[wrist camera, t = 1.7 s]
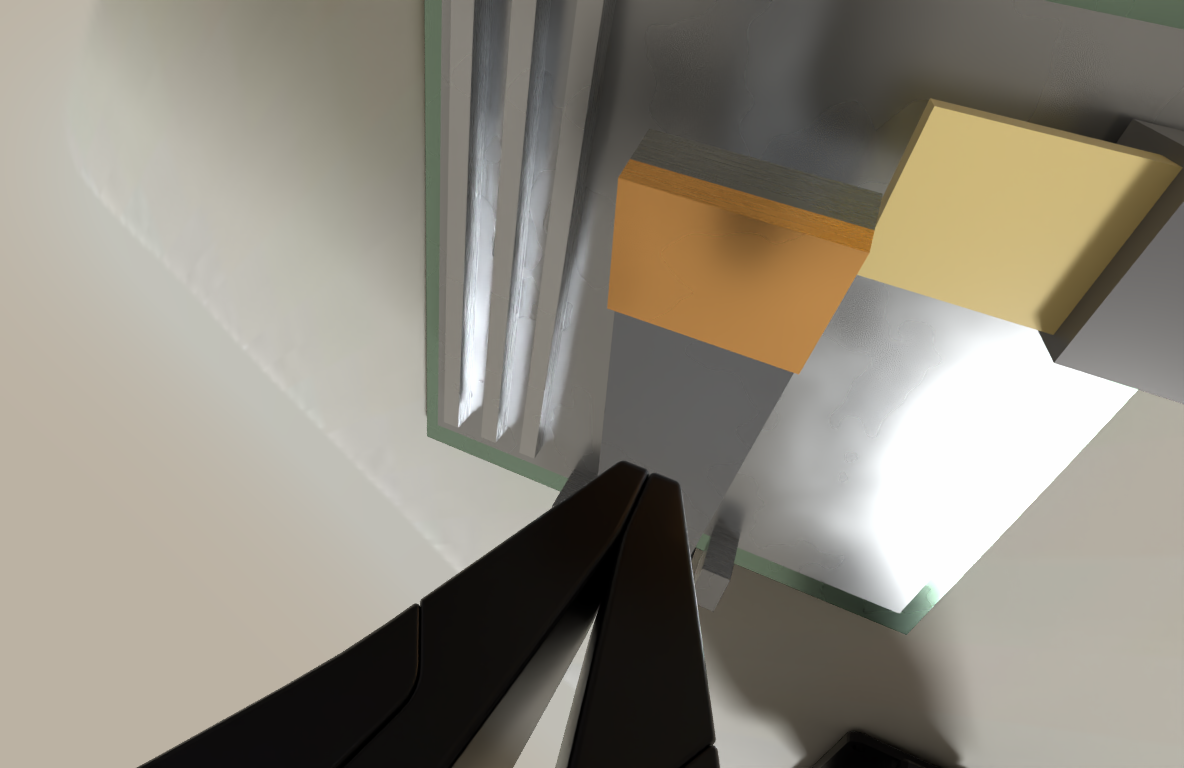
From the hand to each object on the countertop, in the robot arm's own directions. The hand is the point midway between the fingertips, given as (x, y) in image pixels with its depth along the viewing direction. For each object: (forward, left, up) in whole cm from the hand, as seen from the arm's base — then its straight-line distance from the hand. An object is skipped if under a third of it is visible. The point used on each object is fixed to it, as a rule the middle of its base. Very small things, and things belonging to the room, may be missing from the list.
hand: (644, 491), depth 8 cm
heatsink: (-2, 0, -10) cm, 10 cm away
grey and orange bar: (-2, 0, -5) cm, 5 cm away
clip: (+3, -4, -7) cm, 9 cm away
